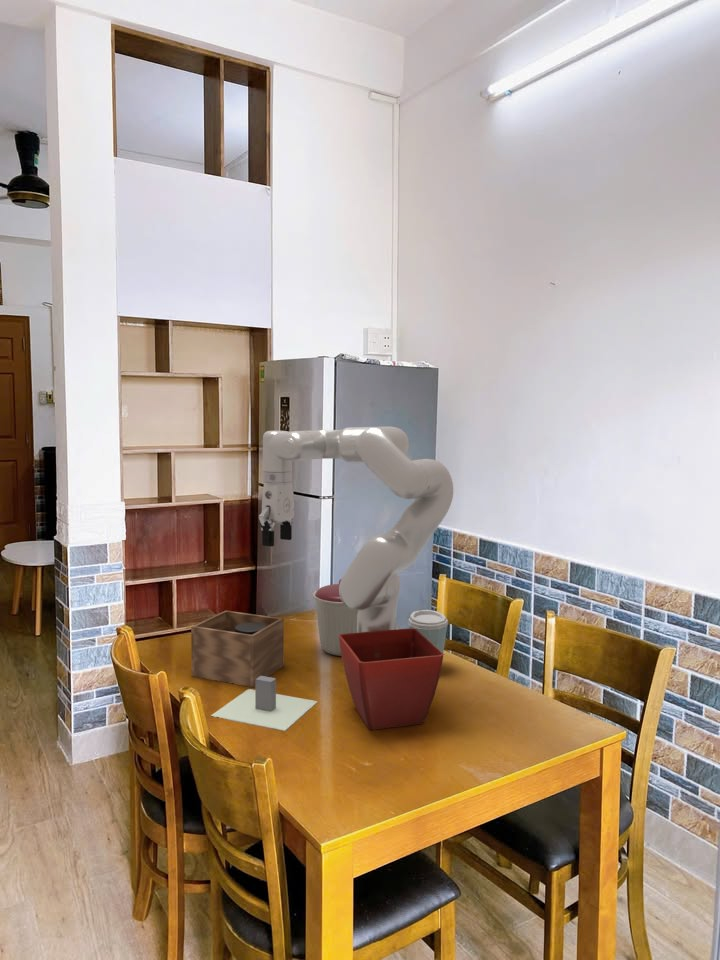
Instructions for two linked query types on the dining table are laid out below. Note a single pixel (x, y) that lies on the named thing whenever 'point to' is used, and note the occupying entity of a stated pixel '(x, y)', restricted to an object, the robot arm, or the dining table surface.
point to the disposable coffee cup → (430, 626)
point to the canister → (333, 618)
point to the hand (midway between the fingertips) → (277, 542)
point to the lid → (265, 707)
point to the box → (236, 648)
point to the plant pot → (391, 675)
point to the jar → (249, 628)
